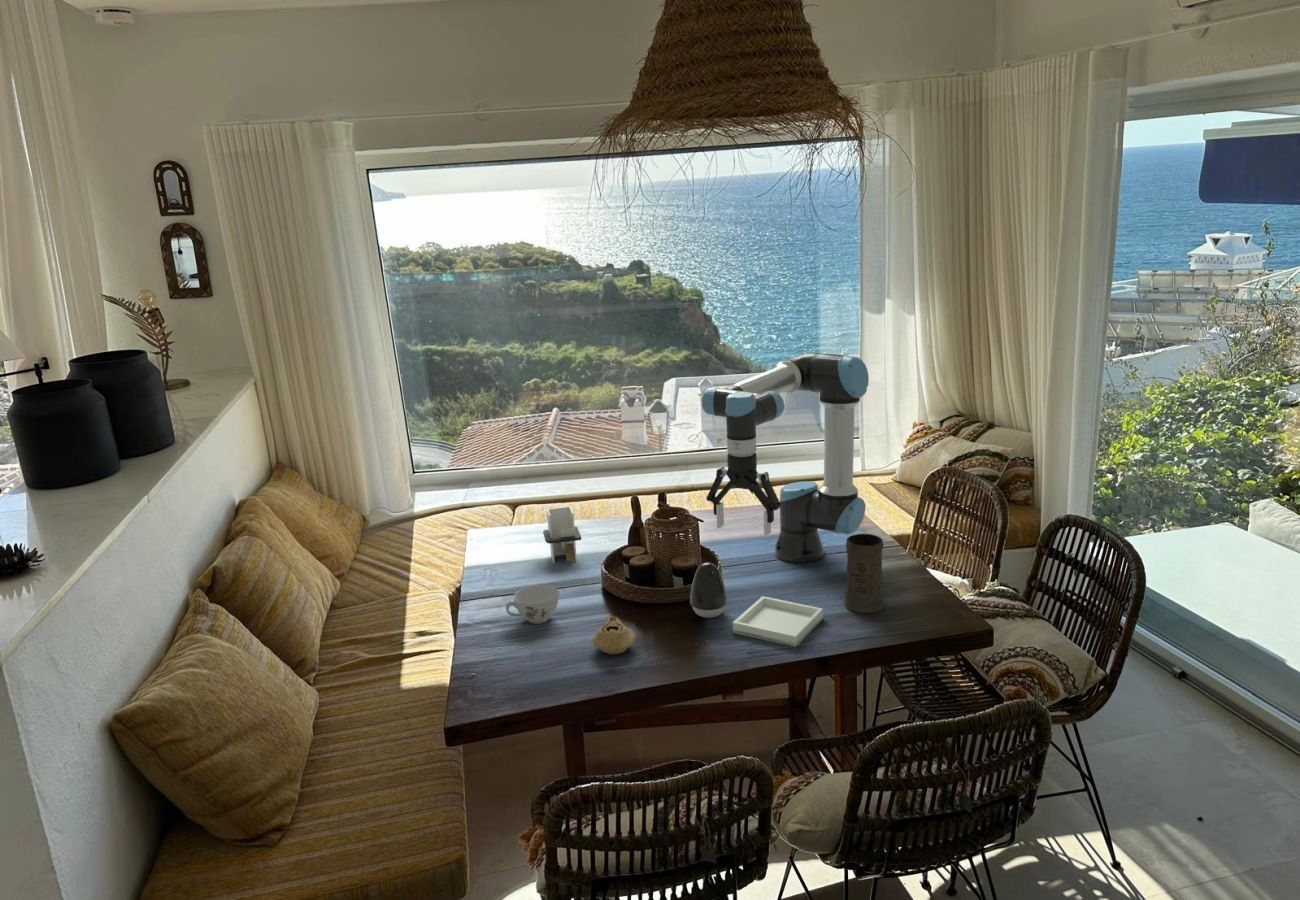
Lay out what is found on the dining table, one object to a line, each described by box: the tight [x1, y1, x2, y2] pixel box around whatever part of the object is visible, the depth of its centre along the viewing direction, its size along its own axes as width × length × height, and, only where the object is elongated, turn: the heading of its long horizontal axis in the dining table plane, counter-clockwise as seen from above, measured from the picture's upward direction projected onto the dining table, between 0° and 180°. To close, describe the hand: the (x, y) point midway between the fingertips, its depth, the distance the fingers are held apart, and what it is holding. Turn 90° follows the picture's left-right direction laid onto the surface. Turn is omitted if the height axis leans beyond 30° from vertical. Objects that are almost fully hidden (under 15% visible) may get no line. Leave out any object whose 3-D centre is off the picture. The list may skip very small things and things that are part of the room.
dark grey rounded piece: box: [689, 561, 728, 619], centre depth 259 cm, size 10×10×15 cm
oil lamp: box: [592, 616, 636, 655], centre depth 244 cm, size 11×15×8 cm
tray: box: [732, 595, 824, 648], centre depth 252 cm, size 18×18×3 cm
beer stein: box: [843, 533, 885, 614], centre depth 261 cm, size 15×11×20 cm
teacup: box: [505, 584, 560, 625], centre depth 262 cm, size 15×12×8 cm
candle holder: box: [542, 505, 582, 564], centre depth 304 cm, size 25×24×16 cm
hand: (743, 530), depth 248 cm, fingers open, 13 cm apart
